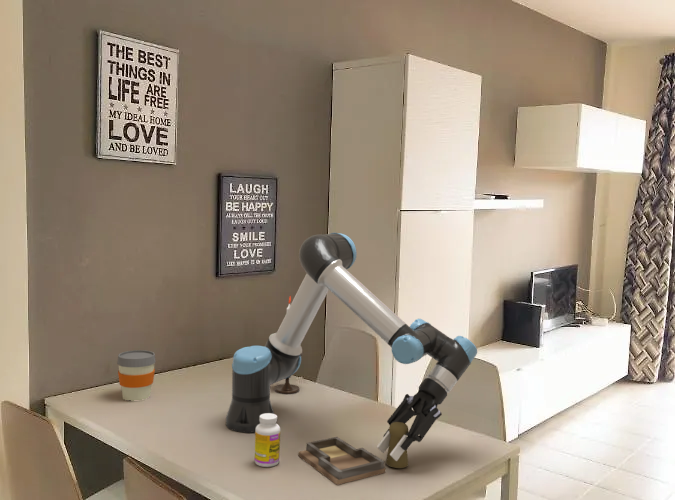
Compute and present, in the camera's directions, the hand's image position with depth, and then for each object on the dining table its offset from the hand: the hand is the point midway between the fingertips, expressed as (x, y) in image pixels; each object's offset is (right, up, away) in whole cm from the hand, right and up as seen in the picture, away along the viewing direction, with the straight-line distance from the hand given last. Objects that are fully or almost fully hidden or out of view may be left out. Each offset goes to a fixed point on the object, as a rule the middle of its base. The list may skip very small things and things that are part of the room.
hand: (386, 453), depth 171 cm
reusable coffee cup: (-82, +3, +51) cm, 97 cm away
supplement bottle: (-32, -3, +1) cm, 32 cm away
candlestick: (-31, +3, +64) cm, 71 cm away
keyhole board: (-12, -3, +2) cm, 13 cm away
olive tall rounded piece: (+3, -3, +2) cm, 5 cm away
